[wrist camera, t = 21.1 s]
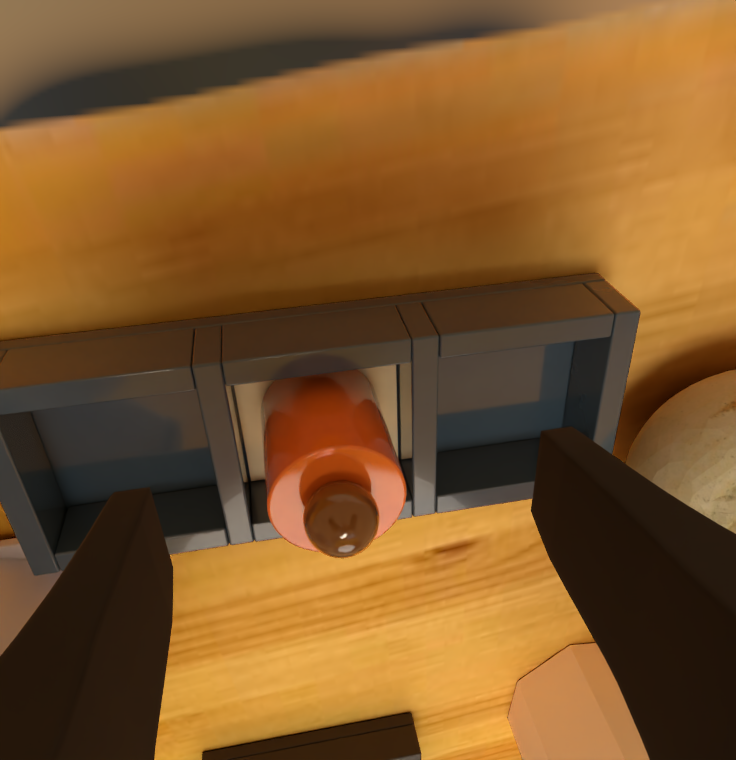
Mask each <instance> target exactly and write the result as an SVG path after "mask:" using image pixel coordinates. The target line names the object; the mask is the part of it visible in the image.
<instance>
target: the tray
mask: <svg viewBox="0 0 736 760" xmlns="http://www.w3.org/2000/svg"><path fill="white" fill-rule="evenodd" d="M202 760H421V751H420V747H419V742H418V738H417V734H416V730H415V726H414V722H413V717H412V714H411V713H406V714H401V715H396V716H391V717H386V718H380V719H375V720H370V721H365V722H360V723H354V724H349V725H344V726H339V727H334V728H328V729H323V730H318V731H313V732H308V733H302V734H297V735H292V736H287V737H282V738H276V739H271V740H266V741H261V742H256V743H250V744H245V745H240V746H235V747H230V748H224V749H219V750H214V751H209V752H204V753H203V754H202Z"/></svg>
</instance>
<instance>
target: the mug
mask: <svg viewBox="0 0 736 760" xmlns="http://www.w3.org/2000/svg"><path fill="white" fill-rule="evenodd" d="M508 721H509V723H510V726H511V729H512V732H513V734H514V737H515V740H516V743H517V746H518V748H519V751H520V754H521V757H522V759H523V760H650V759H649V757H648V754H647V752H646V749H645V747H644V744H643V742H642V739H641V737H640V735H639V732H638V730H637V728H636V725H635V723H634V721H633V718H632V716H631V714H630V711H629V709H628V707H627V704H626V702H625V700H624V697H623V695H622V693H621V691H620V688H619V686H618V684H617V682H616V680H615V678H614V676H613V674H612V672H611V670H610V668H609V666H608V664H607V662H606V660H605V658H604V656H603V654H602V653H601V651H600V649H599V647H598V645H597V644H596V643H589V644H579V645H569V646H568V647H566V648H565V649H563V650H562V651H561V652H559V653H558V654H556V655H555V656H553V657H552V658H551V659H549V660H548V661H546V662H545V663H543V664H542V665H540V666H539V667H538V668H536V669H535V670H533V671H532V672H530V673H529V674H527V675H526V676H525V677H523V678H522V679H520V680H519V681H518V682H517V685H516V689H515V693H514V696H513V700H512V703H511V707H510V711H509V714H508Z"/></svg>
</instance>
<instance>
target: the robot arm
mask: <svg viewBox="0 0 736 760" xmlns="http://www.w3.org/2000/svg"><path fill="white" fill-rule="evenodd" d="M531 512H532V515H533V517H534V520H535V523H536V525H537V528H538V531H539V533H540V536H541V538H542V541H543V543H544V546H545V548H546V551H547V553H548V556H549V558H550V560H551V562H552V564H553V566H554V567H555V569H556V571H557V573H558V575H559V577H560V579H561V580H562V582H563V584H564V586H565V588H566V590H567V591H568V593H569V595H570V597H571V599H572V600H573V602H574V604H575V606H576V608H577V609H578V611H579V613H580V615H581V617H582V618H583V620H584V622H585V624H586V626H587V627H588V629H589V631H590V633H591V635H592V636H593V638H594V640H595V642H596V644H597V645H598V647H599V649H600V651H601V653H602V654H603V656H604V658H605V660H606V662H607V664H608V666H609V668H610V670H611V672H612V674H613V676H614V678H615V680H616V682H617V684H618V686H619V688H620V691H621V693H622V695H623V697H624V700H625V702H626V704H627V707H628V709H629V711H630V714H631V716H632V718H633V721H634V723H635V725H636V728H637V730H638V732H639V735H640V737H641V739H642V742H643V744H644V747H645V749H646V752H647V754H648V757H649V759H650V760H736V534H735V533H734V532H732V531H730V530H728V529H726V528H725V527H723V526H721V525H719V524H718V523H716V522H714V521H713V520H711V519H709V518H708V517H706V516H704V515H703V514H701V513H700V512H698V511H696V510H695V509H693V508H691V507H690V506H688V505H686V504H685V503H683V502H682V501H680V500H678V499H677V498H675V497H674V496H672V495H671V494H669V493H668V492H666V491H665V490H663V489H662V488H660V487H658V486H657V485H656V484H654V483H653V482H651V481H650V480H648V479H647V478H645V477H644V476H642V475H641V474H639V473H638V472H636V471H635V470H634V469H632V468H631V467H629V466H628V465H626V464H625V463H624V462H622V461H621V460H619V459H618V458H616V457H615V456H614V455H612V454H611V453H609V452H608V451H607V450H605V449H604V448H602V447H601V446H600V445H598V444H597V443H595V442H594V441H592V440H591V439H590V438H588V437H587V436H585V435H584V434H582V433H581V432H579V431H578V430H576V429H575V428H573V427H572V426H571V427H564V428H558V429H551V430H544V431H541V434H540V442H539V450H538V459H537V467H536V475H535V483H534V491H533V499H532V507H531ZM172 612H173V566H172V562H171V559H170V555H169V552H168V548H167V545H166V541H165V538H164V534H163V531H162V527H161V524H160V520H159V517H158V514H157V510H156V507H155V503H154V500H153V496H152V493H151V489H150V487H146V488H140V489H133V490H126V491H119V492H114V493H113V494H112V495H111V497H110V498H109V499H108V501H107V503H106V504H105V506H104V507H103V509H102V511H101V512H100V514H99V516H98V517H97V519H96V521H95V522H94V524H93V526H92V527H91V529H90V531H89V532H88V534H87V535H86V537H85V539H84V540H83V542H82V543H81V545H80V546H79V548H78V550H77V551H76V553H75V554H74V556H73V557H72V559H71V560H70V562H69V563H68V565H67V566H66V568H65V569H64V571H61V570H60V572H58V573H52V574H45V575H39V576H34V575H33V573H32V570H31V568H30V566H29V564H28V562H27V559H26V557H25V555H24V553H23V551H22V548H21V546H20V544H19V542H18V540H17V538H13V539H6V540H0V760H154V755H155V745H156V737H157V730H158V723H159V716H160V709H161V701H162V694H163V687H164V680H165V673H166V665H167V658H168V651H169V643H170V636H171V628H172Z"/></svg>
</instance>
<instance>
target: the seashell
mask: <svg viewBox="0 0 736 760" xmlns="http://www.w3.org/2000/svg"><path fill="white" fill-rule="evenodd" d="M625 464H626V465H628V466H629V467H631V468H632V469H634V470H635V471H636V472H638V473H639V474H641V475H642V476H644V477H645V478H647V479H648V480H650V481H651V482H653V483H654V484H656V485H657V486H658V487H660V488H662V489H663V490H665V491H666V492H668V493H669V494H671V495H672V496H674V497H675V498H677V499H678V500H680V501H682V502H683V503H685V504H686V505H688V506H690V507H691V508H693V509H695V510H696V511H698V512H700V513H701V514H703V515H704V516H706V517H708V518H709V519H711V520H713V521H714V522H716V523H718V524H719V525H721V526H723V527H725V528H726V529H728V530H730V531H732V532H734V533H735V534H736V369H735V370H730V371H726V372H723V373H720V374H717V375H714V376H711V377H708V378H705V379H703V380H701V381H699V382H697V383H695V384H692V385H690V386H689V387H687V388H685V389H684V390H682V391H681V392H679V393H678V394H676V395H674V396H673V397H671V398H670V399H669V400H667V401H666V402H665V403H664V404H663V405H662V406H661V407H660V408H658V409H657V410H656V411H655V413H654V414H653V415H652V416H651V417H650V418H649V419H648V421H647V422H646V423H645V424H644V426H643V427H642V429H641V430H640V432H639V434H638V435H637V437H636V438H635V440H634V441H633V443H632V445H631V448H630V450H629V452H628V456H627V459H626V463H625Z"/></svg>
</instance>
